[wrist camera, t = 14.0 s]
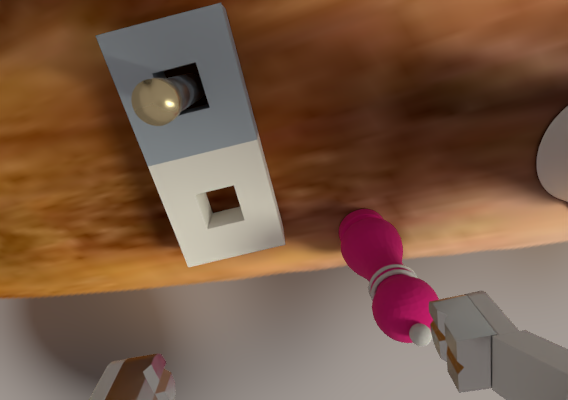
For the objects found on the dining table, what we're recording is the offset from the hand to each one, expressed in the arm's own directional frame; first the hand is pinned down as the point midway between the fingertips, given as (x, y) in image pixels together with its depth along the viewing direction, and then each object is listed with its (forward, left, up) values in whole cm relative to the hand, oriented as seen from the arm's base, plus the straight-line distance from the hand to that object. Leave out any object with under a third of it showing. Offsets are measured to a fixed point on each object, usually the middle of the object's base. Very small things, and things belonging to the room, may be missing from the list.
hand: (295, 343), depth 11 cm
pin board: (+8, 0, -33) cm, 34 cm away
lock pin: (+8, -7, -33) cm, 35 cm away
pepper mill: (-8, +16, -34) cm, 38 cm away
